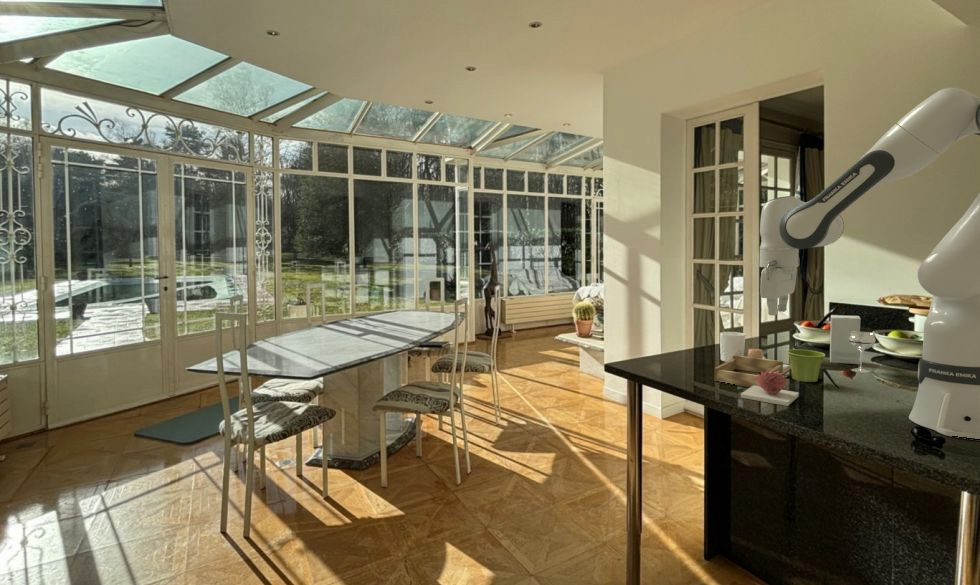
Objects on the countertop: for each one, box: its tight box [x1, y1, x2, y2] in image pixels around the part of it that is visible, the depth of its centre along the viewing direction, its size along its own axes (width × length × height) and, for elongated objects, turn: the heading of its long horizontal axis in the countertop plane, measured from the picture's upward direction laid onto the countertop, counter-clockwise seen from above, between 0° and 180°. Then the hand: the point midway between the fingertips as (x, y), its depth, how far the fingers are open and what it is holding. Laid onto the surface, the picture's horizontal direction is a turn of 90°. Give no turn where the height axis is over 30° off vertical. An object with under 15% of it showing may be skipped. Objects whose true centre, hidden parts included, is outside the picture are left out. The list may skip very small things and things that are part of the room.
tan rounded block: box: [746, 347, 764, 359], centre depth 167 cm, size 4×4×5 cm
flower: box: [754, 370, 789, 394], centre depth 135 cm, size 8×8×6 cm
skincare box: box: [829, 314, 862, 365], centre depth 174 cm, size 8×7×16 cm
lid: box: [783, 362, 791, 375], centre depth 166 cm, size 14×16×1 cm
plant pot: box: [786, 349, 826, 383], centre depth 149 cm, size 9×9×9 cm
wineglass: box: [849, 330, 876, 374], centre depth 162 cm, size 7×7×12 cm
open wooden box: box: [713, 355, 784, 388], centre depth 153 cm, size 14×17×5 cm
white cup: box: [719, 331, 746, 363], centre depth 174 cm, size 8×8×10 cm
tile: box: [740, 385, 800, 407], centre depth 136 cm, size 11×11×1 cm
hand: (777, 313), depth 135 cm, fingers open, 8 cm apart
